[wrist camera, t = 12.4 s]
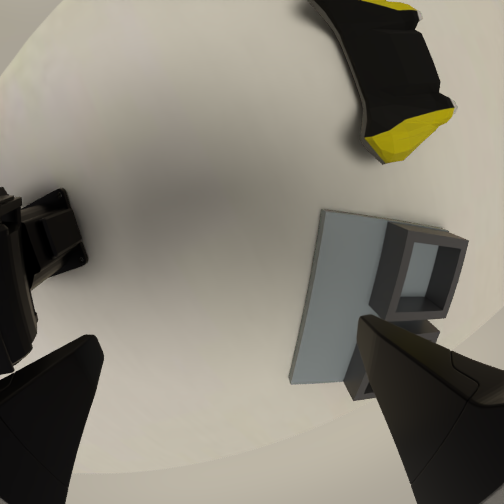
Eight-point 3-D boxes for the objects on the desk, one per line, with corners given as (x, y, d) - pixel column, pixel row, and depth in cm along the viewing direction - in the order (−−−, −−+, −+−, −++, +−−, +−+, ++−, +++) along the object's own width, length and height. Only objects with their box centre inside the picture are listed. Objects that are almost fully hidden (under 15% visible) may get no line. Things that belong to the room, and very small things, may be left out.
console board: (288, 377, 25) (297, 406, 22) (321, 209, 21) (341, 219, 17) (397, 368, 27) (413, 390, 23) (442, 228, 22) (470, 239, 19)
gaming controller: (346, 167, 20) (437, 145, 20) (382, 170, 15) (480, 147, 15) (285, 1, 16) (384, 0, 16) (301, -35, 10) (414, -24, 10)
